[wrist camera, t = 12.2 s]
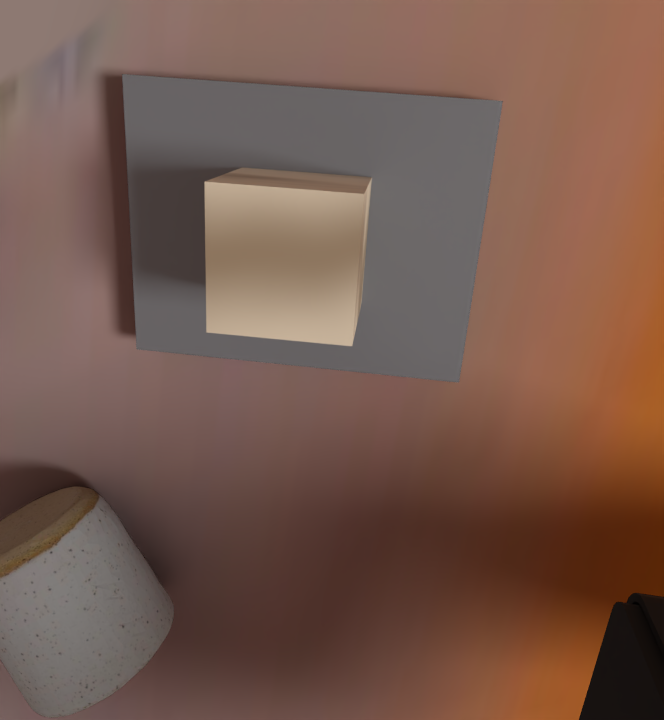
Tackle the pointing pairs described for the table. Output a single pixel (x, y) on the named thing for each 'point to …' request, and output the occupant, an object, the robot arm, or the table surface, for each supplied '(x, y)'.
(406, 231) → the serving board
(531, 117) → the table surface
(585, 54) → the table surface
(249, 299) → the beech cube
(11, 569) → the ceramic mug
